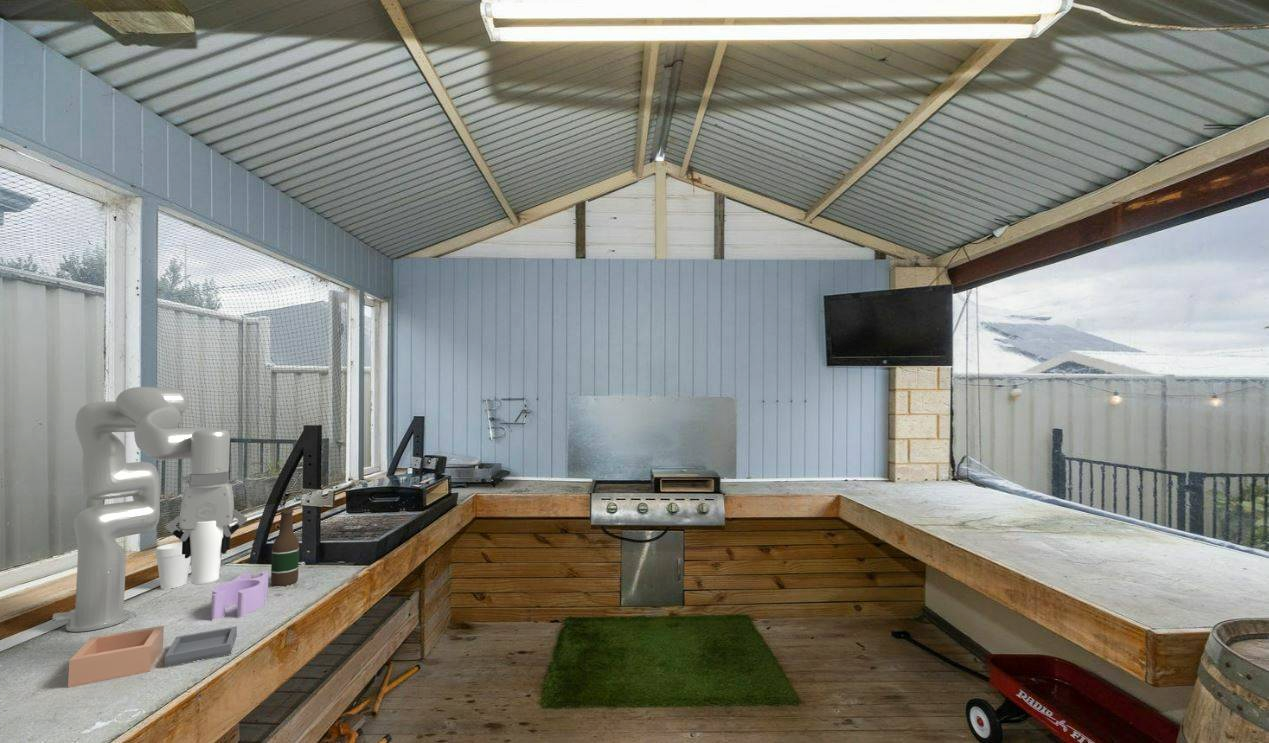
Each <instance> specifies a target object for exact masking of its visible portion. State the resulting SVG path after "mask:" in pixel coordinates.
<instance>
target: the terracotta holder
mask: <svg viewBox="0 0 1269 743" xmlns="http://www.w3.org/2000/svg"><path fill="white" fill-rule="evenodd" d="M164 629H165V626H164V625H159V626H154V627H147V628H142V629H136V630H135V629H134V630H129V631H122V632H118V633H110V634H105V635H99V636H93V637H90V638H89V639H88V640H86V642H85V643H84V644H83V645H82V646H81V647H80V649H78V651H77V652H76V653H75V654H74V655H73V656H72V657H71V658H70V659H69V661H68V663H69V664H68V667H69V668H68V679H67V680H68V681H67V683H68V684H67V687H68V688H71V687H72V688H73V687H77V686H81V685H88V684H92V683H98V682H103V681H108V680H112V679H119V678H124V677H129V676H134V675H139V674H143V673H148V672H150V671H151V670H152V668H153V667H154V664H155V663H156V662H157V660H156V659H158V658H159V656H160V654H161V653H162V651H163V650H164V635H165V633H164V632H165V630H164Z"/></svg>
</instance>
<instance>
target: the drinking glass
mask: <svg viewBox="0 0 1269 743" xmlns="http://www.w3.org/2000/svg"><path fill="white" fill-rule="evenodd" d="M223 537H224V533H223V527H216V521H208V522H197V526H196V529H194V530H191V531H190V555H191V562H190V570H191V571H190V572H191V576H190V582H191V583H190V584H192V585H195V586H203V585H209V584H214V583H216V582H217V581H218V580H219V579H220V572H221V571H220V569H221V562H222V555H223V554H222V538H223Z"/></svg>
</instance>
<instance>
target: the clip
mask: <svg viewBox="0 0 1269 743" xmlns="http://www.w3.org/2000/svg"><path fill="white" fill-rule="evenodd" d="M211 591H212V592H211V611H210V612H211V614H210V615H211V618H210V620H211V619H217V618H220V619H222V618H224V617H225V616H224V615H226V608H225V607H227V606H230V605H233V606H235V605H234V604H238V605H237V612H236V614H237V616H239V617H243V616H245V617H246V615H248V614H247V613H250V614H252V613H251V612H253V613H255V612H257V611H256V610H258V609H260V608H262V607H263V606H264V605H266V599H267V598H268V597H267V596H269V572H267V571H261V572H260V573H259V576H258V577H257V576H256V577H252V572H247V573H243V574H241V575H238V576H236V577H235V578H234V579H233V580H230V581H228V582H227V581H226V582H224V583H221V584H219V585H216V586H215V587H213V588H212V589H211ZM266 597H267V598H266ZM230 607H231V606H230ZM264 607H265V606H264ZM264 607H263V608H264ZM227 608H228V607H227ZM263 608H262V609H263ZM260 610H261V609H260ZM254 611H255V612H254ZM258 611H259V610H258ZM245 614H246V615H245ZM223 616H224V617H223ZM221 617H222V618H221ZM239 617H238V618H239ZM243 618H244V617H243ZM217 620H218V619H217Z"/></svg>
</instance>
